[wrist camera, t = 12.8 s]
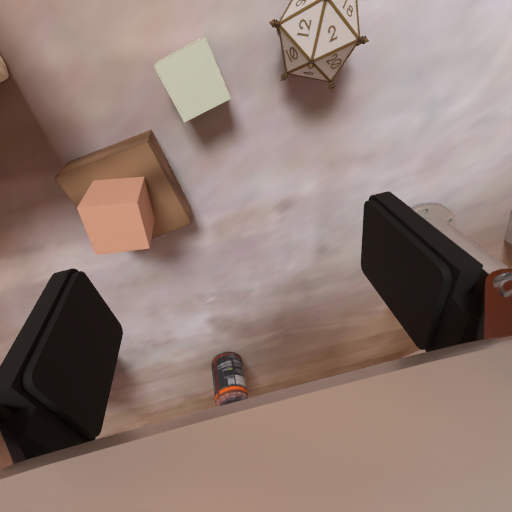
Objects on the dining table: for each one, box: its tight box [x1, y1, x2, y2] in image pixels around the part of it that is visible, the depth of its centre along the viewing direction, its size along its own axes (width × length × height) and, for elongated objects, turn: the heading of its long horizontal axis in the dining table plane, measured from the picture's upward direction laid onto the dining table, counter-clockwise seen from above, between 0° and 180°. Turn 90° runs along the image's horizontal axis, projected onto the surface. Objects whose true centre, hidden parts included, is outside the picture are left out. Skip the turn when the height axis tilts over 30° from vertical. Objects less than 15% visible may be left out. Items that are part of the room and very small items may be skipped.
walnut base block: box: [54, 130, 191, 238], centre depth 35 cm, size 10×10×5 cm
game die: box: [269, 0, 369, 91], centre depth 27 cm, size 9×8×10 cm
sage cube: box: [154, 37, 231, 122], centre depth 29 cm, size 5×5×5 cm
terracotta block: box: [77, 177, 154, 255], centre depth 30 cm, size 5×5×6 cm
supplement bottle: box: [212, 352, 248, 407], centre depth 56 cm, size 6×6×11 cm
